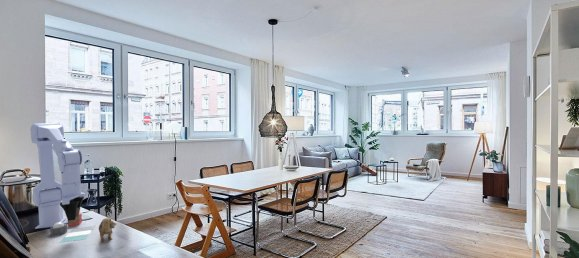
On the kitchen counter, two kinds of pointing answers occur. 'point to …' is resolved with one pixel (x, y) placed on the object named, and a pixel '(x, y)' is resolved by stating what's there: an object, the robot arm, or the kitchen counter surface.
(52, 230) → the dome housing
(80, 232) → the game track
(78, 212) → the walnut pawn
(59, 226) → the dome cap
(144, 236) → the kitchen counter surface
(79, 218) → the red die
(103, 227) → the lion figurine
